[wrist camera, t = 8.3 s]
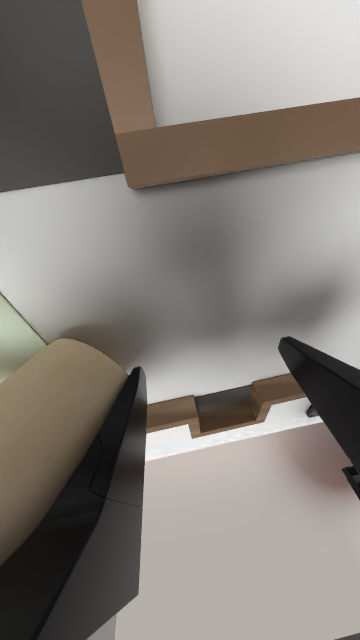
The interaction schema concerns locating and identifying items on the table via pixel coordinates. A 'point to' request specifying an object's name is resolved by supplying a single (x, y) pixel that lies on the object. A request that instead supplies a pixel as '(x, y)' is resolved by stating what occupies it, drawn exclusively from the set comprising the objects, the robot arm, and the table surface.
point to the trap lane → (133, 152)
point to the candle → (49, 429)
